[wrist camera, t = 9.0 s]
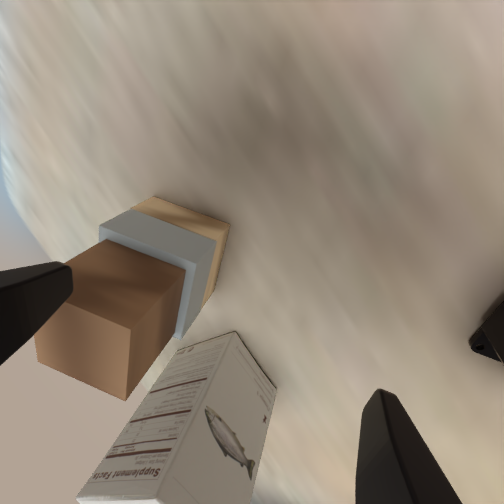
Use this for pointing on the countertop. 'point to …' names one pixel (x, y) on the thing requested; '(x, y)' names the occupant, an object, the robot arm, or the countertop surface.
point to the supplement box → (191, 433)
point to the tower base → (194, 224)
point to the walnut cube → (112, 318)
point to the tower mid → (167, 255)
